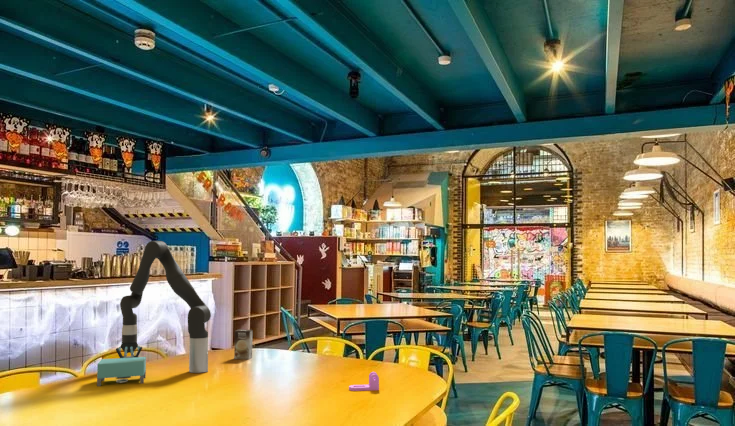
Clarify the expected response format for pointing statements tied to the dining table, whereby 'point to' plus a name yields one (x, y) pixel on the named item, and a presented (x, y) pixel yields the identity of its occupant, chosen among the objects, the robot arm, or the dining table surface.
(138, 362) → the teal footstool
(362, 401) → the dining table surface
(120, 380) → the steel token
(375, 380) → the bracket
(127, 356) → the scraper tool
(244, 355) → the coffee box
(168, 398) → the dining table surface
